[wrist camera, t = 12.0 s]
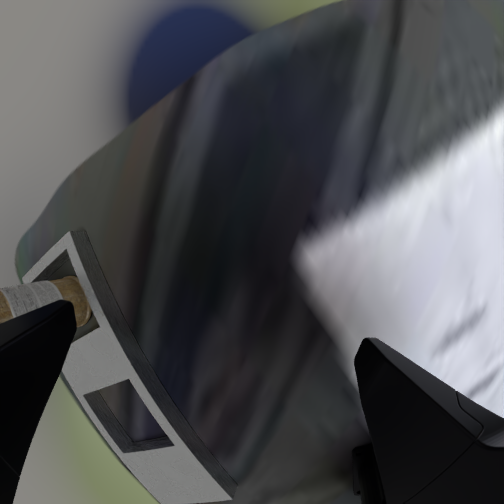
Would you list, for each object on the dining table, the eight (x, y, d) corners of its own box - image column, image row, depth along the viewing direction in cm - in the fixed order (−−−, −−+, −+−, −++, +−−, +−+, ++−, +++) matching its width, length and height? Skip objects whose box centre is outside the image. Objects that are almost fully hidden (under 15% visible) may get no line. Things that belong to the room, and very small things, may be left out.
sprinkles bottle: (74, 332, 22) (-45, 379, 9) (53, 287, 23) (-68, 313, 9) (102, 313, 22) (-35, 363, 8) (80, 264, 22) (-60, 284, 9)
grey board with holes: (237, 485, 20) (232, 499, 18) (169, 492, 22) (161, 504, 20) (85, 231, 21) (69, 231, 19) (36, 276, 23) (22, 278, 21)
